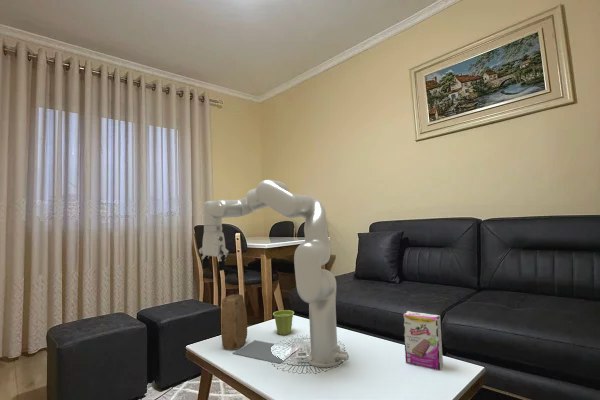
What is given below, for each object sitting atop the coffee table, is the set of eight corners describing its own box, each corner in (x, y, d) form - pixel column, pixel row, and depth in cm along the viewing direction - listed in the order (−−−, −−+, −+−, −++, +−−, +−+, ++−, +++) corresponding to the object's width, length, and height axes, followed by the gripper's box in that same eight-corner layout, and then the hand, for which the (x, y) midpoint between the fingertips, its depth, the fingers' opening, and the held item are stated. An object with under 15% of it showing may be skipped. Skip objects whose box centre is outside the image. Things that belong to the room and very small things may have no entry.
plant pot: (272, 330, 148) (271, 311, 148) (293, 328, 150) (292, 309, 150) (274, 337, 139) (274, 317, 139) (296, 335, 140) (295, 314, 141)
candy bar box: (405, 363, 109) (402, 314, 110) (409, 358, 113) (406, 310, 114) (440, 371, 103) (437, 318, 104) (443, 365, 107) (440, 314, 108)
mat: (299, 348, 126) (299, 348, 126) (280, 363, 113) (280, 363, 113) (254, 340, 136) (254, 340, 136) (232, 353, 124) (232, 353, 124)
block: (235, 351, 126) (234, 299, 127) (219, 349, 128) (218, 298, 129) (250, 341, 136) (248, 293, 137) (235, 339, 138) (233, 292, 139)
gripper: (233, 229, 138) (234, 269, 138) (206, 229, 148) (206, 266, 147) (220, 230, 132) (221, 272, 131) (192, 229, 142) (193, 269, 141)
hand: (213, 269), depth 139 cm, fingers open, 9 cm apart
